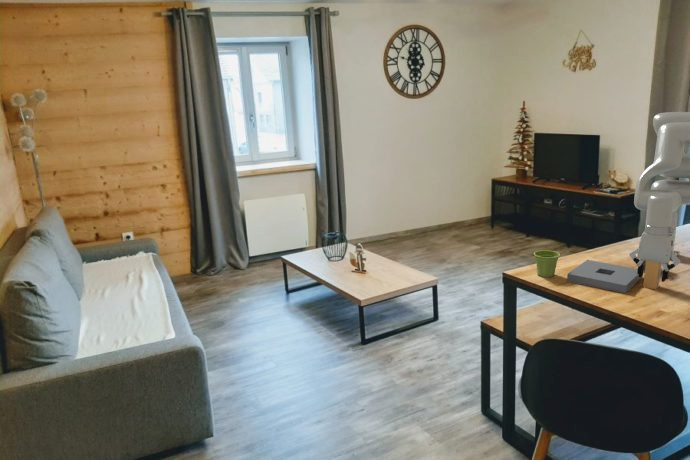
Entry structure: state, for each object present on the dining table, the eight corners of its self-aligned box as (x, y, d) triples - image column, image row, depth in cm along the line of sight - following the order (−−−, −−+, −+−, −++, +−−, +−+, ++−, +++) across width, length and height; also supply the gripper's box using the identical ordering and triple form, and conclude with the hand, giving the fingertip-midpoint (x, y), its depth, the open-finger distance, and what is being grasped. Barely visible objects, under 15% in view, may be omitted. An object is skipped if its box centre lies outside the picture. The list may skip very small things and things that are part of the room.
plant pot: (532, 278, 198) (533, 256, 196) (533, 270, 207) (534, 249, 204) (558, 280, 195) (560, 258, 192) (558, 271, 203) (559, 250, 201)
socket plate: (586, 266, 207) (587, 259, 206) (642, 277, 193) (643, 269, 193) (567, 281, 193) (567, 273, 192) (625, 293, 180) (626, 285, 179)
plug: (646, 283, 187) (649, 257, 185) (659, 286, 184) (662, 259, 182) (643, 287, 184) (646, 260, 182) (655, 289, 182) (658, 262, 179)
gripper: (689, 231, 176) (682, 280, 180) (633, 224, 187) (628, 270, 192) (684, 236, 171) (677, 287, 175) (626, 228, 182) (622, 276, 187)
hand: (652, 278), depth 184 cm, fingers open, 6 cm apart
